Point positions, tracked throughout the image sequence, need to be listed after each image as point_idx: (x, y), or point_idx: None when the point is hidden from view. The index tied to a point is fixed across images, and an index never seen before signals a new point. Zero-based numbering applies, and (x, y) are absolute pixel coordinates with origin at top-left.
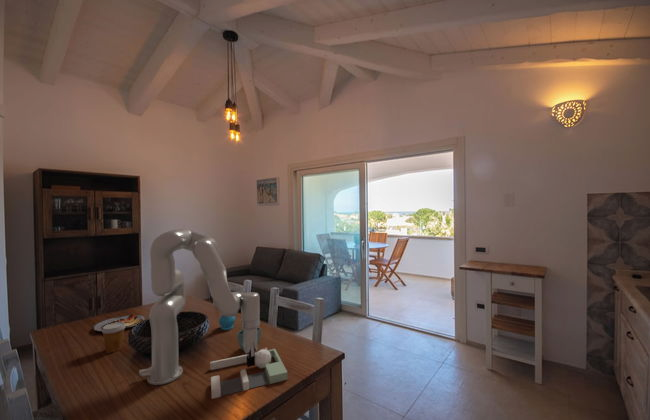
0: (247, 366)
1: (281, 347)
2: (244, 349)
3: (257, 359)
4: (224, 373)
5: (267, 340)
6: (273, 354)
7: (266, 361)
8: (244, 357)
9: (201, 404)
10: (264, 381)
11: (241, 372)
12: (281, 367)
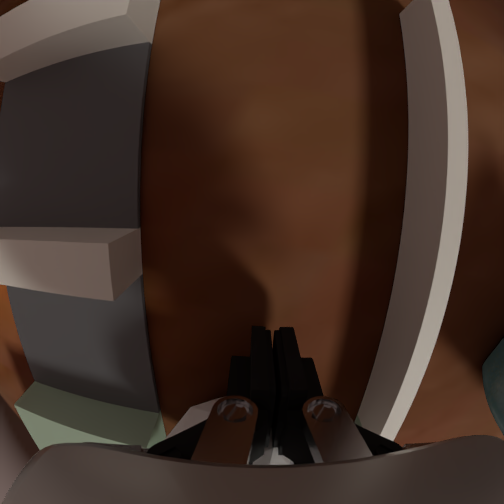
0: (252, 327)
1: None
2: (184, 492)
3: None
4: (295, 91)
5: (498, 428)
6: None
7: None
8: (412, 328)
9: (17, 5)
10: (48, 366)
11: (68, 247)
12: None
